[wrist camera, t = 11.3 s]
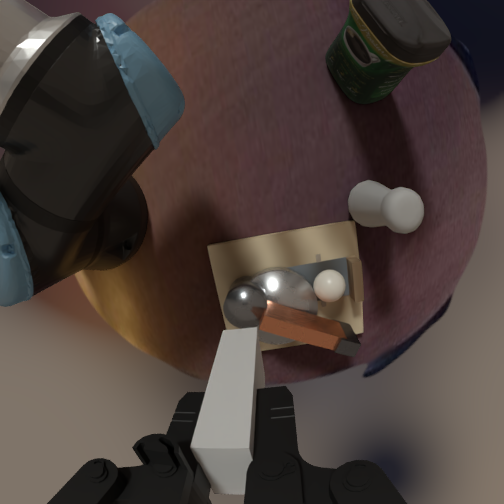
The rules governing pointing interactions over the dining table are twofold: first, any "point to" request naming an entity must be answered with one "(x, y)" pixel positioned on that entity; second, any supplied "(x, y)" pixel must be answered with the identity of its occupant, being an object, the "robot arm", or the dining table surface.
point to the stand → (297, 266)
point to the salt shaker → (386, 207)
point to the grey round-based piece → (285, 311)
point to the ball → (329, 285)
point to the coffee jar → (384, 46)
